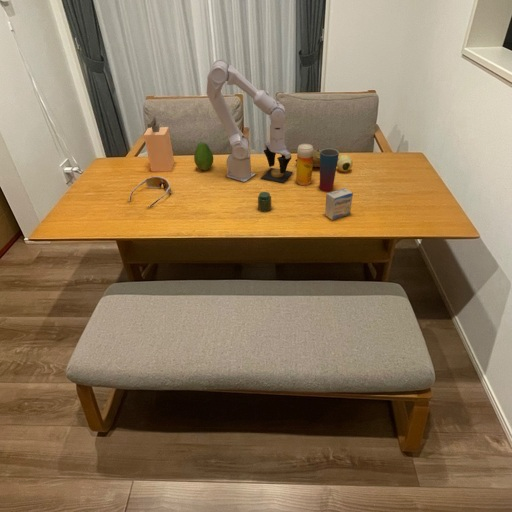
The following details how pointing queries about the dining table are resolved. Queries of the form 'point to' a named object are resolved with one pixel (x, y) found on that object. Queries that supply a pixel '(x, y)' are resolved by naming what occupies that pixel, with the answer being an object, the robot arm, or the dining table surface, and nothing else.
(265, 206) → the jar
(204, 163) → the fruit
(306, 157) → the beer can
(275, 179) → the coaster
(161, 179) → the sunglasses
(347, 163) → the cream rounded piece
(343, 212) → the medicine box
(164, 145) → the soap dispenser
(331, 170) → the cup
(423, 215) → the dining table surface
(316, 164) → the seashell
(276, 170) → the lid
